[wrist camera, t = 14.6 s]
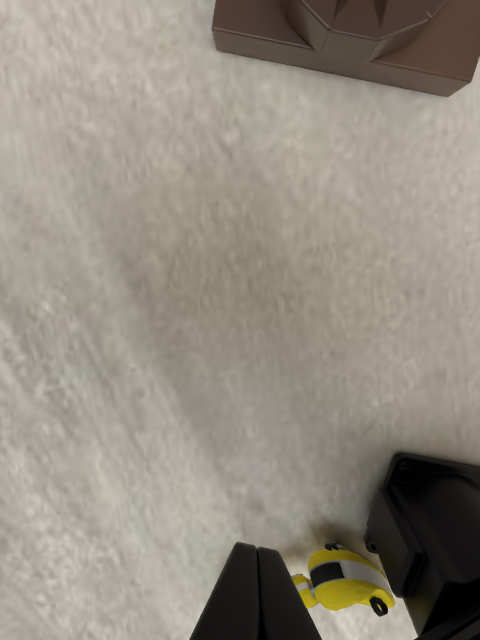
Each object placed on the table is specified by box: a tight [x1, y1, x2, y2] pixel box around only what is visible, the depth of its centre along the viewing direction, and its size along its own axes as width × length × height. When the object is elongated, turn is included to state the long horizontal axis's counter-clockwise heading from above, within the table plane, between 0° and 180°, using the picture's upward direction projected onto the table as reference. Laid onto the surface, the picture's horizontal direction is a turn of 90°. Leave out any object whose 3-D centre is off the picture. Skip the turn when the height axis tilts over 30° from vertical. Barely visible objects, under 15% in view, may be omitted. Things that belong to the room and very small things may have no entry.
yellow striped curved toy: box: [291, 542, 395, 616], centre depth 21 cm, size 10×6×4 cm, turn 118°
